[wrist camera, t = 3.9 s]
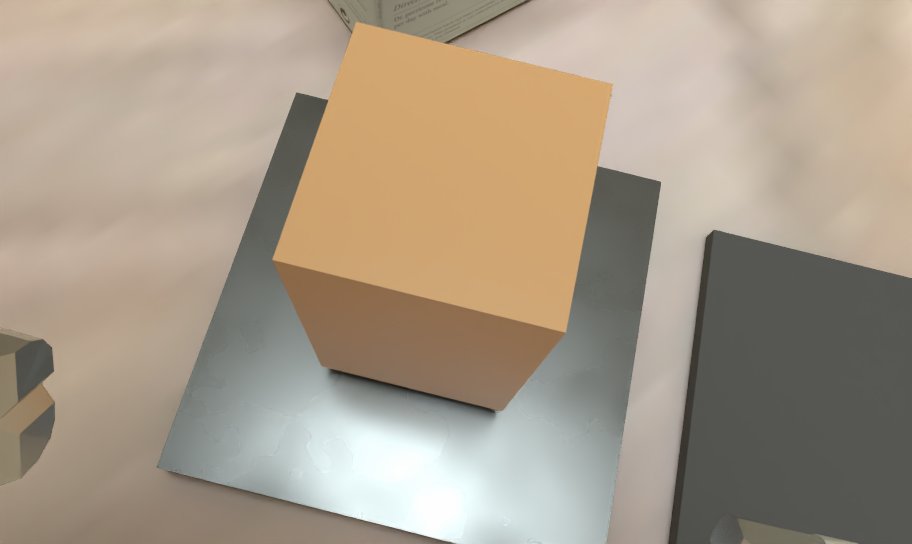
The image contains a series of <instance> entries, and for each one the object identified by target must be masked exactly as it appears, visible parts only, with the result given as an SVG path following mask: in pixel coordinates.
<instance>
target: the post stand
mask: <svg viewBox="0 0 912 544" xmlns="http://www.w3.org/2000/svg"><path fill="white" fill-rule="evenodd" d="M327 103H328V100H325V99H321V98H317V97H313V96H309V95H305V94H301V93H296V95H295V98H294V101H293V103H292V106H291V109H290V111H289V114H288V117H287V119H286V122H285V125H284V127H283V130H282V133H281V135H280V138H279V141H278V143H277V146H276V149H275V152H274V154H273V157H272V160H271V162H270V165H269V168H268V170H267V173H266V176H265V178H264V181H263V184H262V186H261V189H260V192H259V194H258V197H257V200H256V202H255V205H254V208H253V210H252V213H251V216H250V219H249V221H248V224H247V227H246V229H245V232H244V235H243V237H242V240H241V243H240V245H239V248H238V251H237V253H236V256H235V259H234V261H233V264H232V267H231V269H230V272H229V275H228V278H227V280H226V283H225V286H224V288H223V291H222V294H221V296H220V299H219V302H218V304H217V307H216V310H215V312H214V315H213V318H212V320H211V323H210V326H209V328H208V331H207V334H206V336H205V339H204V342H203V345H202V347H201V350H200V353H199V355H198V358H197V361H196V363H195V366H194V369H193V371H192V374H191V377H190V379H189V382H188V385H187V387H186V390H185V393H184V395H183V398H182V401H181V403H180V406H179V409H178V412H177V414H176V417H175V420H174V422H173V425H172V428H171V430H170V433H169V436H168V438H167V441H166V444H165V446H164V449H163V452H162V454H161V457H160V460H159V462H158V465H157V468H160V469H163V470H167V471H170V472H174V473H178V474H182V475H186V476H190V477H194V478H198V479H202V480H206V481H210V482H214V483H218V484H222V485H226V486H230V487H234V488H238V489H242V490H245V491H249V492H253V493H257V494H261V495H265V496H269V497H273V498H277V499H281V500H285V501H289V502H293V503H297V504H301V505H305V506H309V507H313V508H317V509H321V510H325V511H328V512H332V513H336V514H340V515H344V516H348V517H352V518H356V519H360V520H364V521H368V522H372V523H376V524H380V525H384V526H388V527H392V528H396V529H400V530H404V531H407V532H411V533H415V534H419V535H423V536H427V537H431V538H435V539H439V540H443V541H447V542H451V543H455V544H606V542H607V535H608V529H609V522H610V515H611V509H612V502H613V496H614V489H615V483H616V476H617V469H618V463H619V456H620V450H621V443H622V436H623V430H624V423H625V417H626V410H627V404H628V397H629V390H630V384H631V377H632V371H633V364H634V357H635V351H636V344H637V338H638V331H639V325H640V318H641V311H642V305H643V298H644V292H645V285H646V278H647V272H648V265H649V259H650V252H651V246H652V239H653V232H654V226H655V219H656V213H657V206H658V199H659V193H660V186H661V182H660V181H656V180H651V179H647V178H643V177H639V176H635V175H631V174H627V173H623V172H619V171H615V170H611V169H607V168H603V167H598V166H597V171H596V176H595V181H594V187H593V192H592V197H591V203H590V208H589V213H588V218H587V224H586V229H585V234H584V240H583V245H582V250H581V255H580V261H579V266H578V271H577V277H576V282H575V287H574V293H573V298H572V303H571V308H570V314H569V319H568V324H567V330H566V333H565V334H564V336H563V337H562V338H561V339H560V341H559V342H558V343H557V344H556V346H555V347H554V348H553V349H552V351H551V352H550V353H549V354H548V355H547V357H546V358H545V359H544V360H543V362H542V363H541V364H540V365H539V367H538V368H537V369H536V370H535V372H534V373H533V374H532V375H531V376H530V378H529V379H528V380H527V381H526V383H525V384H524V385H523V386H522V388H521V389H520V390H519V391H518V393H517V394H516V395H515V396H514V397H513V399H512V400H511V401H510V402H509V404H508V405H507V406H506V407H505V409H504V410H503V411H498V410H494V409H490V408H486V407H482V406H478V405H474V404H470V403H466V402H462V401H458V400H454V399H450V398H446V397H442V396H438V395H434V394H430V393H426V392H422V391H418V390H414V389H410V388H406V387H402V386H398V385H394V384H390V383H386V382H382V381H378V380H374V379H370V378H366V377H362V376H359V375H355V374H351V373H347V372H343V371H339V370H335V369H331V368H327V367H323V366H321V364H320V362H319V360H318V358H317V355H316V353H315V351H314V349H313V347H312V345H311V342H310V340H309V338H308V336H307V334H306V332H305V329H304V327H303V325H302V323H301V321H300V319H299V316H298V314H297V312H296V310H295V308H294V306H293V304H292V301H291V299H290V297H289V295H288V293H287V291H286V288H285V286H284V284H283V282H282V280H281V278H280V275H279V273H278V271H277V269H276V267H275V265H274V262H273V260H272V259H273V256H274V253H275V251H276V248H277V245H278V242H279V239H280V236H281V234H282V231H283V228H284V225H285V222H286V219H287V217H288V214H289V211H290V208H291V205H292V202H293V200H294V197H295V194H296V191H297V188H298V185H299V183H300V180H301V177H302V174H303V171H304V168H305V166H306V163H307V160H308V157H309V154H310V151H311V149H312V146H313V143H314V140H315V137H316V134H317V132H318V129H319V126H320V123H321V120H322V117H323V114H324V112H325V109H326V106H327Z"/></svg>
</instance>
